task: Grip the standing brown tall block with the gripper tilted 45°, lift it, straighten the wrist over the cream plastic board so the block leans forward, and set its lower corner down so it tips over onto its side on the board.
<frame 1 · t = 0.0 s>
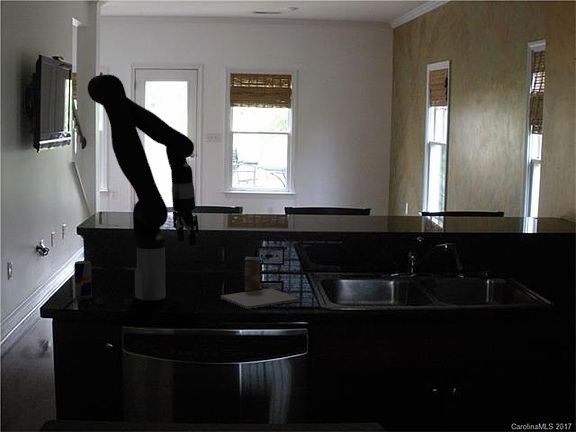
hand: (186, 243, 274), 17 cm above the countertop, tool pointing down, fingers open, 8 cm apart
cream board: (259, 300, 267), on the countertop
brown tall block: (252, 289, 282), on the countertop
energy drink: (83, 298, 268), on the countertop
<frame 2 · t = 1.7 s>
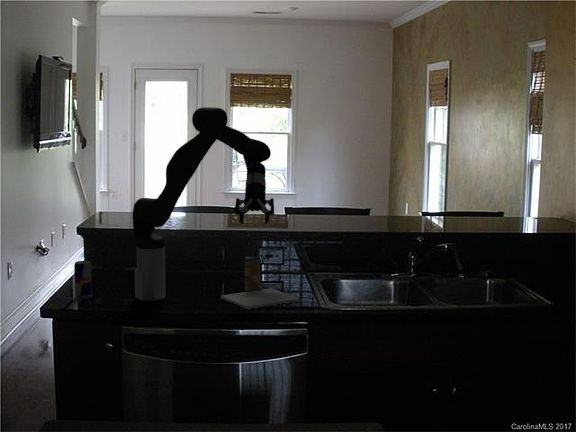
hand: (254, 223, 291), 22 cm above the countertop, tool tilted 45°, fingers open, 8 cm apart
nothing on the countertop moved.
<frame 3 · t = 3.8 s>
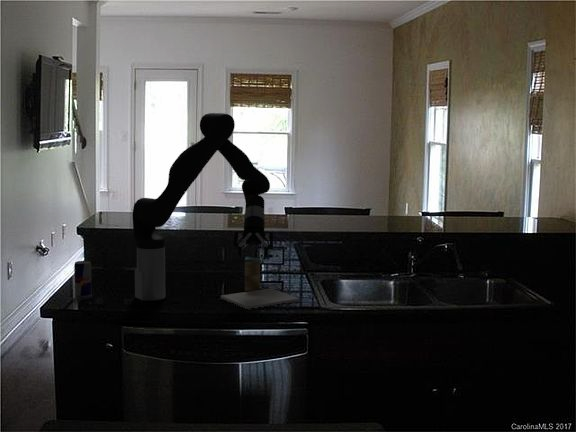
hand: (252, 257, 286), 10 cm above the countertop, tool tilted 45°, fingers open, 8 cm apart
nothing on the countertop moved.
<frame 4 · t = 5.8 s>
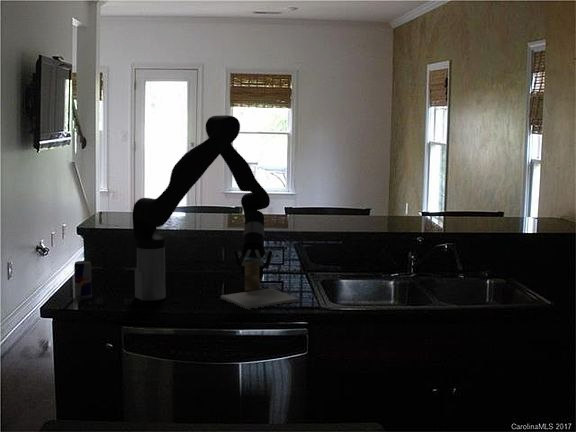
hand: (252, 277, 280), 5 cm above the countertop, tool tilted 45°, fingers closed on brown tall block, 5 cm apart
brown tall block: (252, 289, 282), on the countertop, touching gripper
everything else where it was.
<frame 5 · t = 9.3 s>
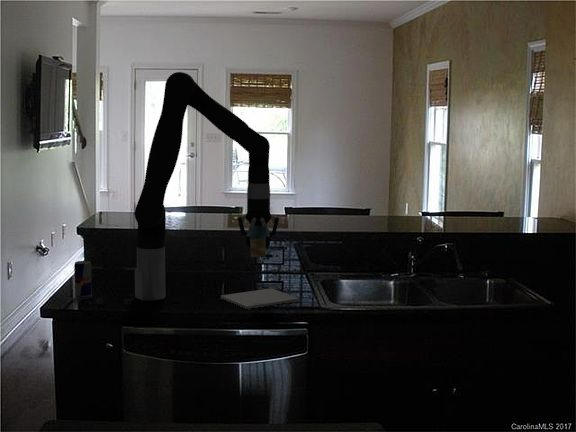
hand: (258, 247, 267), 17 cm above the countertop, tool pointing down, fingers closed on brown tall block, 5 cm apart
brown tall block: (258, 251, 272), point 15 cm above the countertop, tilted 45°, touching gripper
everything else where it was.
when the fingers open (5 cm above the countertop, at t = 12.6 s): brown tall block moves 2 cm and tips over, resting on cream board.
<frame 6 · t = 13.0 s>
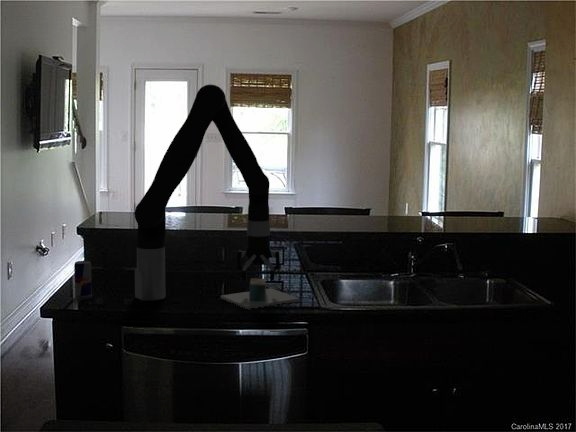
hand: (258, 281, 269), 6 cm above the countertop, tool pointing down, fingers open, 8 cm apart
brown tall block: (258, 285, 272), point 3 cm above the countertop, tilted 90°, touching cream board
everything else where it was.
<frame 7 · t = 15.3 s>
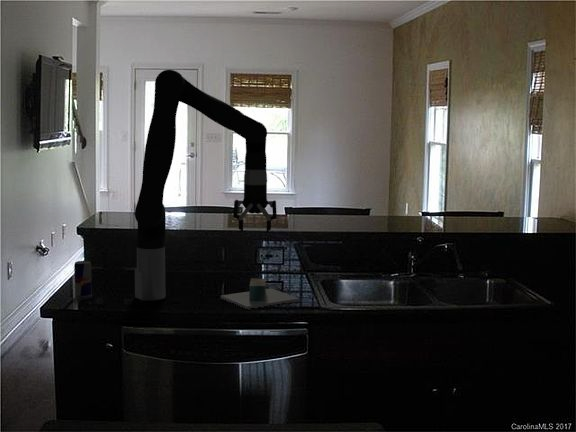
hand: (254, 231, 268), 22 cm above the countertop, tool pointing down, fingers open, 8 cm apart
nothing on the countertop moved.
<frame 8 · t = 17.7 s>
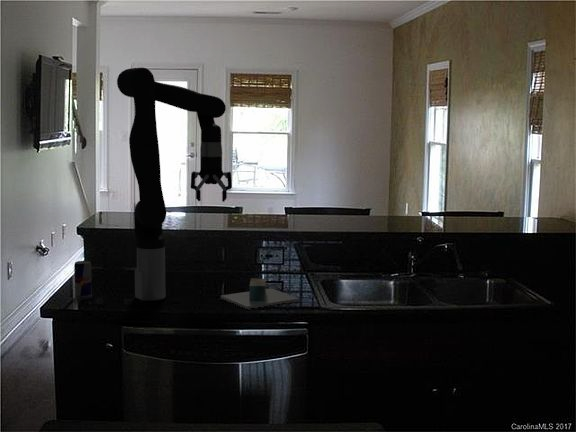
hand: (211, 201, 284), 30 cm above the countertop, tool pointing down, fingers open, 8 cm apart
nothing on the countertop moved.
at the end: brown tall block tilted 90°; brown tall block inside the target area on the cream board (5.5 cm from its centre), point 3.5 cm above the cream board's base; the gripper is holding nothing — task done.
